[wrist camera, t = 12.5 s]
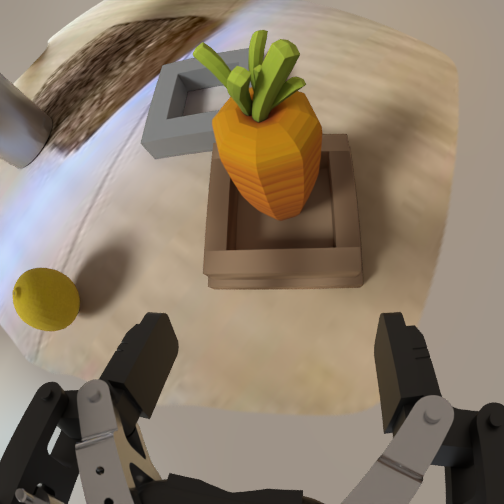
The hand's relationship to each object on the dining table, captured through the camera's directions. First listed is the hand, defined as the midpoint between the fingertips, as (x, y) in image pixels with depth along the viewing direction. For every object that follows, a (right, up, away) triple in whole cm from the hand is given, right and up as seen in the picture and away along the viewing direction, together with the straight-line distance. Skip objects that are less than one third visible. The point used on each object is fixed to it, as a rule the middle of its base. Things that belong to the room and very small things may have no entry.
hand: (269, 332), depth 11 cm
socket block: (-5, +17, +17) cm, 25 cm away
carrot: (+2, +6, +11) cm, 13 cm away
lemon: (-18, -2, +15) cm, 23 cm away
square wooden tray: (+2, +6, +13) cm, 14 cm away
